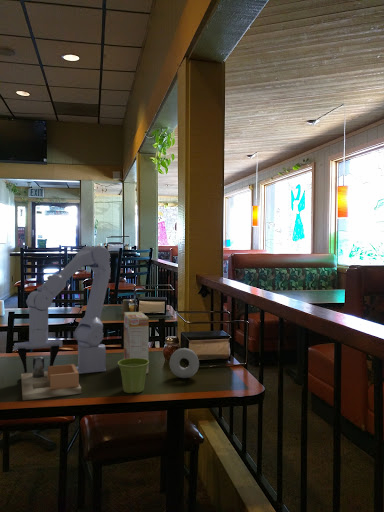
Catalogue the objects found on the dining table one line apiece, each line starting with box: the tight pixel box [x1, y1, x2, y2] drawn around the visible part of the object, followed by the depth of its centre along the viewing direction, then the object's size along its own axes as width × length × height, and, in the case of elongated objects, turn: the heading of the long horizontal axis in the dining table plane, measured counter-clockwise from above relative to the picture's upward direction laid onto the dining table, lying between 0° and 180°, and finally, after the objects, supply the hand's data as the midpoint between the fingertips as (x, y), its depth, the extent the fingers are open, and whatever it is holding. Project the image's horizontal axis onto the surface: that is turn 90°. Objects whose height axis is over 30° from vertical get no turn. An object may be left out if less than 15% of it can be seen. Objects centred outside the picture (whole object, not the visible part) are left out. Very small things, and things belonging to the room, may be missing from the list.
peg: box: [31, 355, 45, 378], centre depth 133 cm, size 4×4×6 cm
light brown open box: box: [47, 363, 80, 390], centre depth 127 cm, size 8×11×4 cm
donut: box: [169, 347, 200, 379], centre depth 138 cm, size 10×4×10 cm, turn 85°
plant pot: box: [117, 358, 150, 394], centre depth 125 cm, size 9×9×9 cm
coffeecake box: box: [123, 311, 150, 375], centre depth 149 cm, size 15×7×20 cm, turn 16°
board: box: [20, 370, 82, 401], centre depth 129 cm, size 16×22×2 cm
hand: (38, 370), depth 133 cm, fingers open, 7 cm apart
